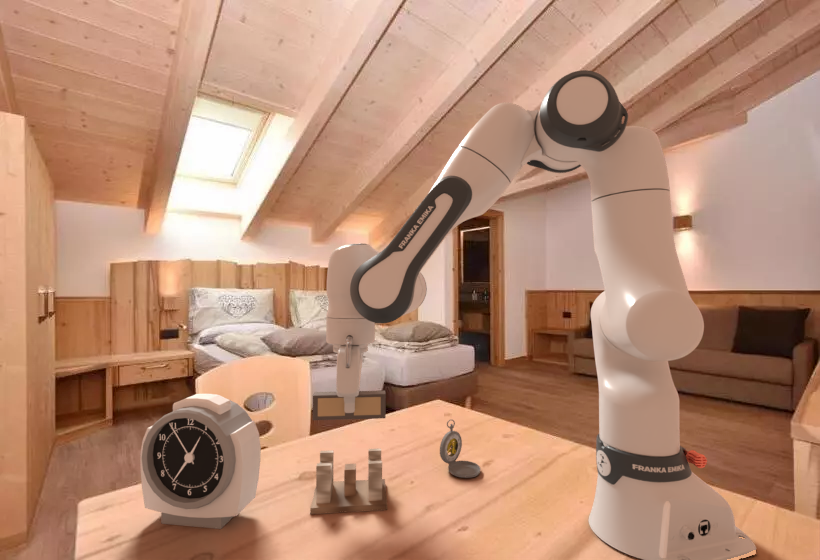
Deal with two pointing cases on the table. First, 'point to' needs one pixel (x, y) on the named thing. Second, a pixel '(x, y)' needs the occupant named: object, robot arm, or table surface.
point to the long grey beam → (333, 406)
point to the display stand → (349, 487)
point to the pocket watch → (456, 455)
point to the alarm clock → (200, 462)
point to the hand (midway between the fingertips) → (350, 408)
